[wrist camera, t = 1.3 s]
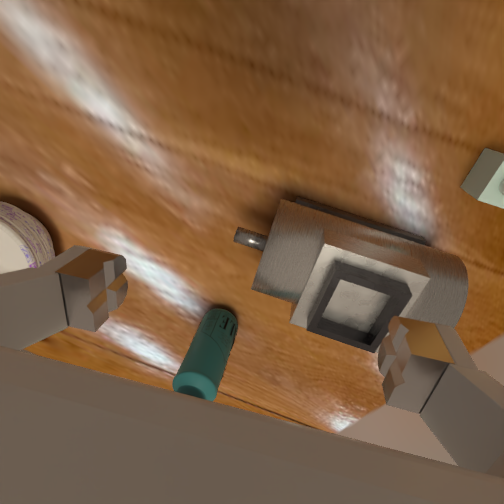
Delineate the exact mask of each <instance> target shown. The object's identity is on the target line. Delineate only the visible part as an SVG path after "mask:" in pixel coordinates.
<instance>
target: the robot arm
mask: <svg viewBox="0 0 504 504" xmlns="http://www.w3.org/2000/svg"><path fill="white" fill-rule="evenodd" d="M126 269H127V267H126V259H125V258H124V257H123V256H122V255H118V254H114V253H110V252H106V251H101V250H97V249H92V248H89V247H84V246H73V247H71V248H69V249H68V250H66V251H64V252H63V253H61V254H60V255H58V256H56V257H55V258H53V259H51V260H50V261H48V262H46V263H45V264H43V265H41V266H40V267H38V268H33V267H31V268H26V269H21V270H17V271H12V272H7V273H3V274H0V504H504V386H503V385H501V384H500V383H499V382H498V381H496V380H495V379H494V378H493V377H491V376H490V375H489V374H487V373H486V372H484V371H480V370H478V368H477V367H476V365H475V363H474V361H473V360H472V358H471V356H470V355H469V353H468V351H467V349H466V348H465V346H464V344H463V342H462V341H461V339H460V337H459V335H458V334H457V332H456V330H455V329H454V328H453V327H451V326H447V325H441V324H436V323H430V322H424V321H419V320H414V319H409V318H404V317H399V316H393V318H392V319H391V321H390V323H389V325H388V329H389V333H390V335H388V336H386V337H385V338H383V339H382V342H381V345H380V347H379V353H378V367H379V371H380V373H381V374H382V375H383V376H384V377H385V379H384V381H383V383H382V386H383V391H384V395H385V400H386V404H387V405H389V406H393V407H397V408H400V409H404V410H407V411H411V412H415V413H418V414H420V417H421V418H422V419H423V421H424V422H425V423H426V424H427V426H428V427H429V428H430V430H431V431H432V432H433V434H434V435H435V436H436V437H437V439H438V440H439V441H440V443H441V444H442V445H443V446H444V448H445V449H446V450H447V452H448V453H449V454H450V456H451V457H452V458H453V459H454V461H455V462H456V463H457V465H458V466H455V465H451V464H447V463H444V462H440V461H436V460H432V459H428V458H425V457H421V456H417V455H413V454H409V453H405V452H402V451H398V450H394V449H390V448H386V447H382V446H378V445H375V444H371V443H367V442H363V441H360V440H356V439H352V438H348V437H344V436H341V435H337V434H333V433H330V432H326V431H322V430H318V429H315V428H311V427H307V426H303V425H300V424H296V423H292V422H288V421H284V420H281V419H277V418H273V417H269V416H266V415H262V414H258V413H254V412H251V411H247V410H243V409H239V408H235V407H232V406H228V405H224V404H220V403H216V402H213V401H209V400H205V399H201V398H197V397H194V396H190V395H186V394H182V393H178V392H175V391H171V390H167V389H163V388H159V387H155V386H152V385H148V384H144V383H140V382H136V381H133V380H129V379H125V378H121V377H117V376H114V375H110V374H106V373H102V372H98V371H95V370H91V369H87V368H83V367H80V366H76V365H72V364H68V363H64V362H61V361H57V360H53V359H49V358H45V357H42V356H38V355H34V354H30V353H26V352H22V351H19V350H21V349H24V348H26V347H28V346H30V345H32V344H34V343H36V342H38V341H40V340H43V339H45V338H47V337H49V336H51V335H53V334H55V333H57V332H59V331H62V330H64V329H66V328H68V326H70V327H75V328H79V329H84V330H88V331H93V332H96V331H97V330H98V329H99V327H100V326H101V325H102V324H103V323H104V322H105V321H106V320H107V319H108V318H109V314H108V312H110V311H113V310H115V309H118V307H119V306H120V305H121V304H122V303H123V301H124V299H125V297H126V295H127V288H128V283H127V279H126V278H125V276H124V275H123V274H122V273H123V272H124V271H125V270H126Z"/></svg>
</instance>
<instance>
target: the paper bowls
mask: <svg viewBox="0 0 504 504" xmlns="http://www.w3.org/2000/svg"><path fill="white" fill-rule="evenodd" d="M53 258H55V253H54V249H53V243H52V239H51V237H50V235H49V233H48V231H47V230H46V228H45V227H44V226H43V225H42V224H41V223H40V222H39V221H38V220H37V219H36V218H34V217H33V216H32V215H30V214H28V213H26V212H24V211H22V210H21V209H20V208H17V207H16V206H13V205H11V204H8V203H5V202H0V274H3V273H7V272H12V271H17V270H21V269H26V268H31V267H33V268H38V267H40V266H41V265H43V264H45V263H46V262H48V261H50V260H51V259H53Z"/></svg>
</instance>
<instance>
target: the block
mask: <svg viewBox="0 0 504 504" xmlns="http://www.w3.org/2000/svg"><path fill="white" fill-rule="evenodd" d="M460 188H462V189H463V190H464V191H466V192H467V193H469V194H470V195H471V196H473V197H474V198H475V199H477V200H479V201H482V202H485V203H488V204H491V205H494V206H498V207H501V208H504V154H503V153H500V152H497V151H494V150H491V149H488V148H485V149H484V150H483V152H482V153H481V155H480V157H479V158H478V160H477V161H476V163H475V165H474V166H473V168H472V169H471V171H470V173H469V174H468V176H467V177H466V179H465V181H464V182H463V184H462V185H461V187H460Z"/></svg>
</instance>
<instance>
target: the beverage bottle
mask: <svg viewBox="0 0 504 504" xmlns="http://www.w3.org/2000/svg"><path fill="white" fill-rule="evenodd" d="M200 323H201V324H199V325H200V326H198V327H199V328H198V330H197V332H196V334H195V335H194V336H195V337H194V336H193V337H194V338H193V339H192V340H193V341H192V343H190V344H191V346H190V348H189V350H188V352H187V354H186V356H185V358H184V360H183V362H182V364H181V366H180V368H179V370H178V372H177V374H176V376H175V377H174V379H173V389H174V391H175V392H178V393H182V394H186V395H190V396H194V397H197V398H201V399H205V400H209V401H213V400H214V399H215V398H216V395H217V390H218V387H219V384H220V381H221V379H222V377H223V376H224V373H223V372H225V371H224V370H226V368H225V366H226V365H227V364H226V363H227V360H228V357H229V355H230V351H231V349H232V348H233V347H232V346H233V344H234V340H235V335H236V334H237V333H236V332H238V330H237V329H238V324H237V320H236V318H235V317H234V315H233V314H232V313H230V312H229V311H227V310H224V309H212V310H210V311H209V312H207V313H206V314H205V316H204V318H203V320H202V321H201V322H200Z"/></svg>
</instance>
